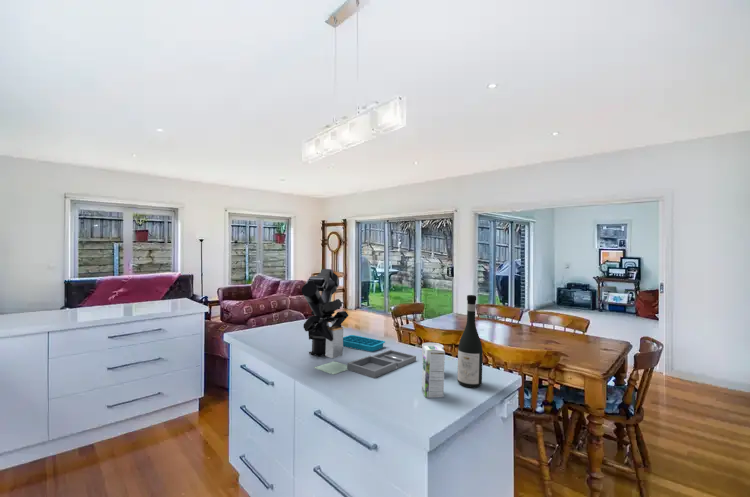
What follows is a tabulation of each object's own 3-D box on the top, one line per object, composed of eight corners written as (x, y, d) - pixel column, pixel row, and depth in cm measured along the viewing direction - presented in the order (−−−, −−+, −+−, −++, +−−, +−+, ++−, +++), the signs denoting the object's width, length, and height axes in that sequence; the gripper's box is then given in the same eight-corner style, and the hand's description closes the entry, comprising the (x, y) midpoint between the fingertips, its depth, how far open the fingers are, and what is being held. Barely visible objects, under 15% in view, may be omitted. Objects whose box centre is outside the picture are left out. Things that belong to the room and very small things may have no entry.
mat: (314, 368, 129) (314, 367, 129) (334, 362, 137) (334, 361, 137) (333, 375, 123) (333, 373, 123) (352, 368, 131) (352, 367, 131)
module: (325, 355, 129) (326, 327, 129) (335, 353, 133) (335, 325, 133) (332, 358, 127) (333, 329, 127) (342, 355, 131) (343, 327, 131)
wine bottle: (477, 390, 113) (480, 297, 113) (454, 385, 117) (456, 295, 117) (484, 383, 119) (486, 295, 120) (461, 378, 124) (463, 293, 124)
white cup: (444, 370, 131) (445, 344, 131) (441, 377, 123) (442, 349, 124) (423, 367, 133) (424, 341, 134) (419, 374, 126) (420, 346, 126)
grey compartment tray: (347, 369, 129) (347, 362, 129) (390, 354, 150) (390, 348, 150) (374, 378, 121) (374, 371, 121) (416, 361, 141) (416, 354, 141)
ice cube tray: (372, 353, 151) (372, 346, 151) (336, 345, 162) (336, 339, 162) (386, 348, 161) (386, 341, 161) (351, 340, 172) (351, 334, 172)
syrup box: (421, 390, 112) (422, 345, 112) (439, 390, 112) (440, 345, 112) (425, 398, 106) (426, 350, 106) (444, 397, 106) (445, 350, 106)
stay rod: (383, 357, 143) (383, 354, 143) (385, 356, 144) (385, 354, 144) (403, 362, 137) (403, 359, 137) (404, 361, 138) (404, 359, 138)
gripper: (309, 294, 125) (329, 330, 118) (345, 290, 140) (365, 322, 133) (294, 313, 130) (313, 349, 123) (331, 307, 145) (350, 339, 138)
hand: (337, 339), depth 129 cm, fingers closed on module, 5 cm apart
